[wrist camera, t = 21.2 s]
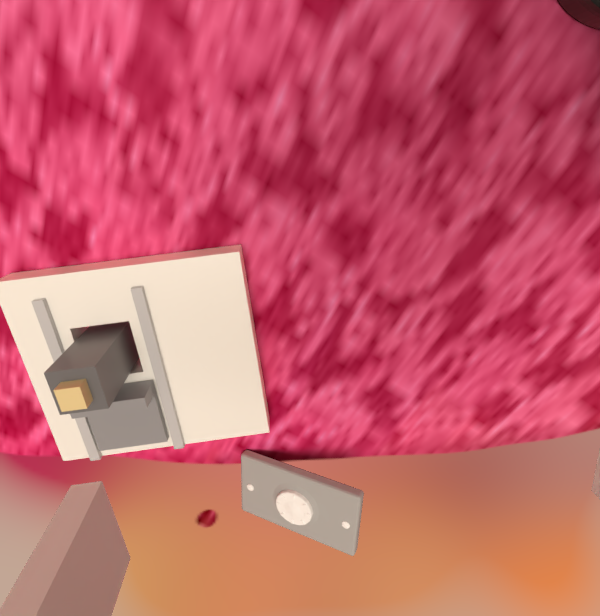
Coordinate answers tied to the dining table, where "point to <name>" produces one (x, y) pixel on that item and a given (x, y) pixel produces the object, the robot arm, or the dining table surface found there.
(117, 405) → the shutter
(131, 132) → the dining table surface
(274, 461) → the light switch
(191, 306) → the socket board
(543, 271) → the dining table surface
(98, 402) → the plug
